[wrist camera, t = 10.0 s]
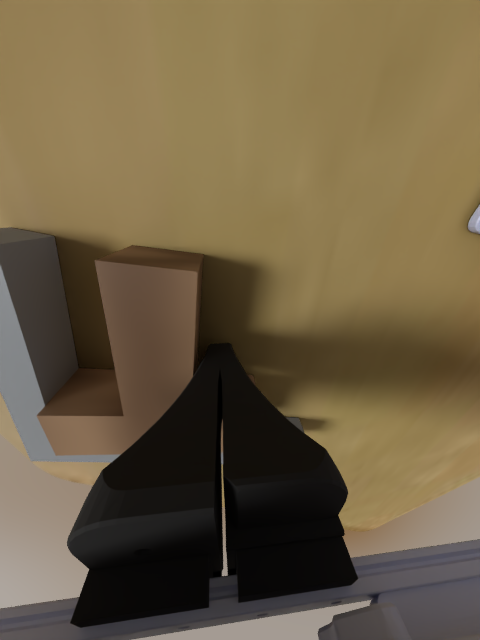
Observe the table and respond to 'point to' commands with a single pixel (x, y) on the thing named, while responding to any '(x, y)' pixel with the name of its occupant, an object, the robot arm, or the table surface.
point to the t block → (133, 353)
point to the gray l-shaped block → (36, 338)
